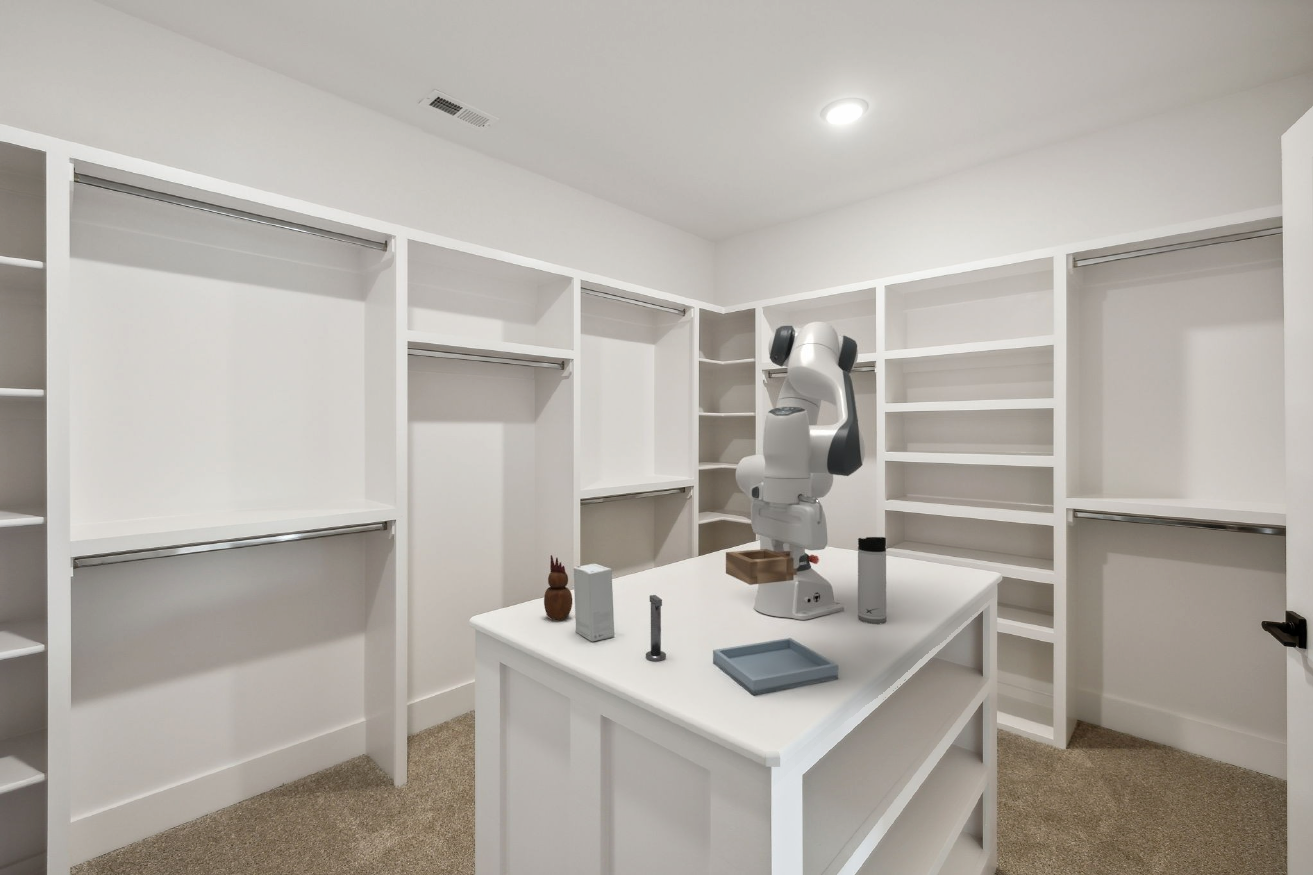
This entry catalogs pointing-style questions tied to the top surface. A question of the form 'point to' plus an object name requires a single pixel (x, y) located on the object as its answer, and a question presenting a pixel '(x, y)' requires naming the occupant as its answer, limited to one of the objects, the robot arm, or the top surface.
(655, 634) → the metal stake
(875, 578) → the travel mug
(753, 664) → the slate-blue tray
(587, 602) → the skincare box
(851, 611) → the top surface
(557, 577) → the wooden figurine
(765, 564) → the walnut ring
